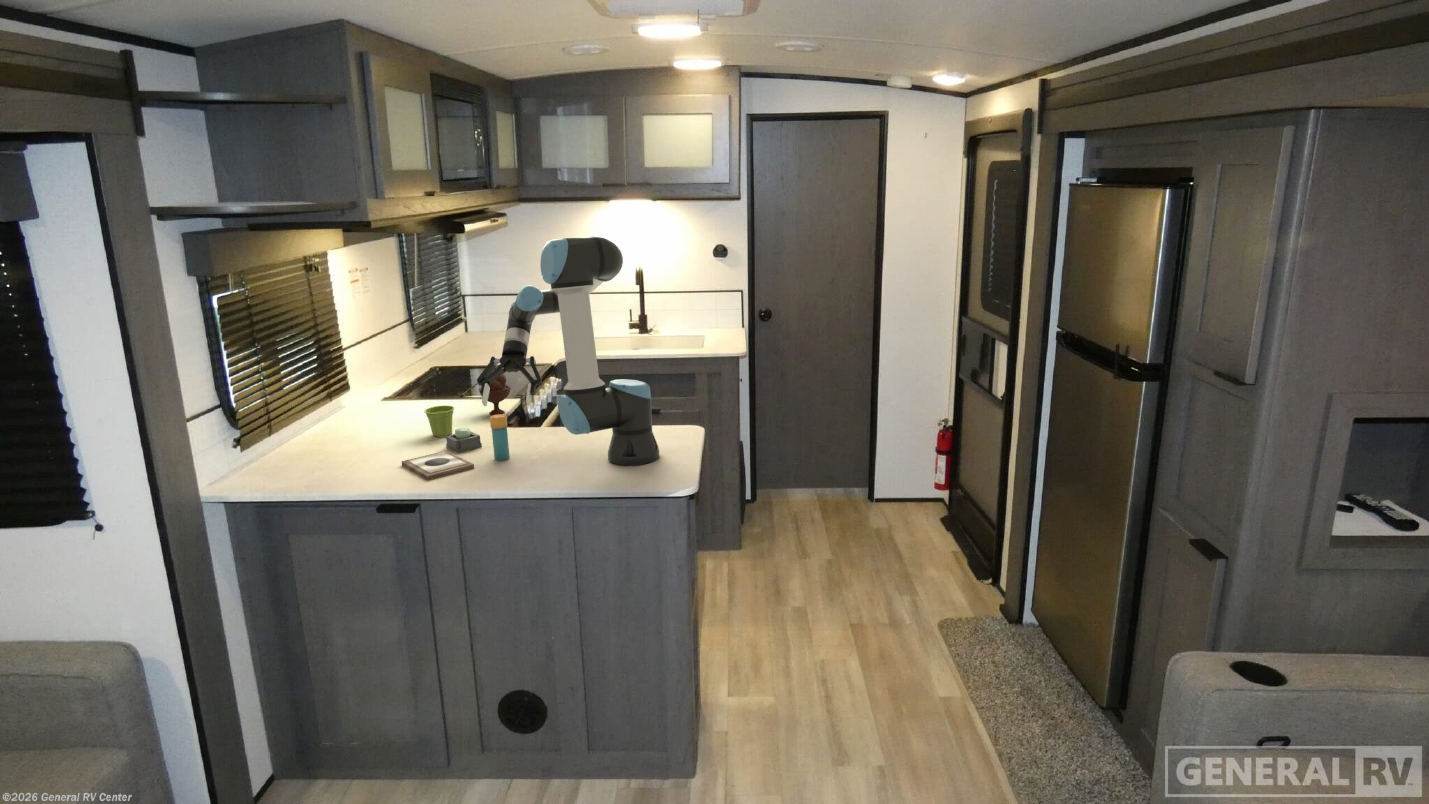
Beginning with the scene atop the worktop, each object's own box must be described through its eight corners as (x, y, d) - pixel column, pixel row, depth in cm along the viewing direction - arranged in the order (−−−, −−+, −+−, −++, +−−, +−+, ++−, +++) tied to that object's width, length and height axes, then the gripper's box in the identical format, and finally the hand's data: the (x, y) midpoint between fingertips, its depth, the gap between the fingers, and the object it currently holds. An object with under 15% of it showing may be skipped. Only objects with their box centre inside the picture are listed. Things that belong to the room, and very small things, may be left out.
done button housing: (481, 446, 265) (480, 435, 264) (457, 452, 260) (456, 441, 259) (470, 441, 271) (469, 430, 270) (446, 447, 266) (445, 436, 265)
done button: (473, 438, 265) (472, 429, 264) (459, 442, 262) (458, 432, 261) (466, 436, 268) (465, 426, 267) (453, 439, 265) (452, 429, 265)
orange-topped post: (513, 458, 254) (509, 416, 250) (498, 462, 251) (494, 419, 247) (505, 454, 257) (501, 413, 254) (491, 458, 254) (486, 416, 251)
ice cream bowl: (496, 408, 310) (492, 367, 306) (519, 411, 304) (515, 370, 300) (474, 415, 301) (470, 374, 297) (497, 419, 295) (493, 377, 292)
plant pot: (426, 440, 274) (423, 414, 272) (428, 432, 283) (425, 406, 280) (456, 437, 276) (454, 411, 274) (457, 429, 285) (454, 404, 283)
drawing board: (474, 468, 246) (473, 463, 246) (427, 480, 237) (426, 475, 237) (447, 454, 259) (446, 449, 259) (401, 465, 250) (401, 460, 250)
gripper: (557, 351, 272) (549, 409, 262) (480, 352, 274) (469, 410, 263) (551, 338, 266) (543, 397, 255) (473, 339, 267) (462, 398, 257)
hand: (505, 403), depth 259 cm, fingers open, 13 cm apart
